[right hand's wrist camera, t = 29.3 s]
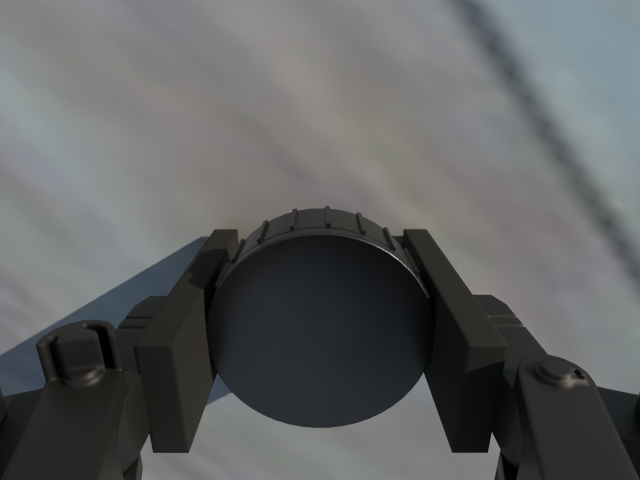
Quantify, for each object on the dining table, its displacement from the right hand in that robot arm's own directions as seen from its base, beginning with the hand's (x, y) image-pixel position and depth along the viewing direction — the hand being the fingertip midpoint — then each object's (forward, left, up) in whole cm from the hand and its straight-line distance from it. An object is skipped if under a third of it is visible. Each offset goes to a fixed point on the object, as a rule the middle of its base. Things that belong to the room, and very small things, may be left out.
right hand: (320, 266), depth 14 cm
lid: (0, 0, +4) cm, 4 cm away
